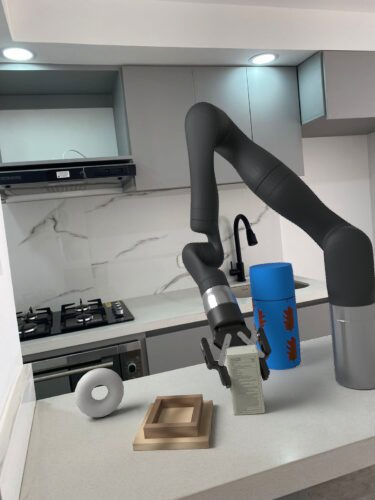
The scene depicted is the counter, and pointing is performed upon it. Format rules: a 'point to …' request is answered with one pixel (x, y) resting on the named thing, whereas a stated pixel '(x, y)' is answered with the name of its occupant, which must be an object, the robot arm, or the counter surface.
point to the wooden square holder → (176, 423)
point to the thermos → (276, 312)
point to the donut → (104, 405)
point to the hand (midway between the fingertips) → (248, 382)
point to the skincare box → (245, 380)
